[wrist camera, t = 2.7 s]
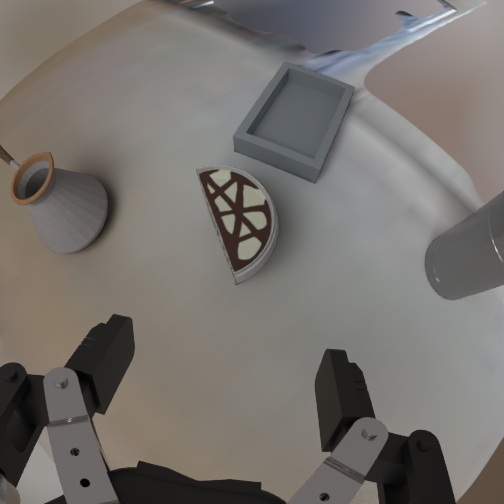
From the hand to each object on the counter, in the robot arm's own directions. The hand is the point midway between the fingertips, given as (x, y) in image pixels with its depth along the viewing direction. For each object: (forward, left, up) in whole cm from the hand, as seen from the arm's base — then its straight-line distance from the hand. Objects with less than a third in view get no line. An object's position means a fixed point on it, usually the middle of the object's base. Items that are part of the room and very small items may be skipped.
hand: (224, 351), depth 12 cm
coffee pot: (+26, -21, -24) cm, 41 cm away
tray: (-10, -31, -24) cm, 40 cm away
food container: (-1, -13, -24) cm, 27 cm away
